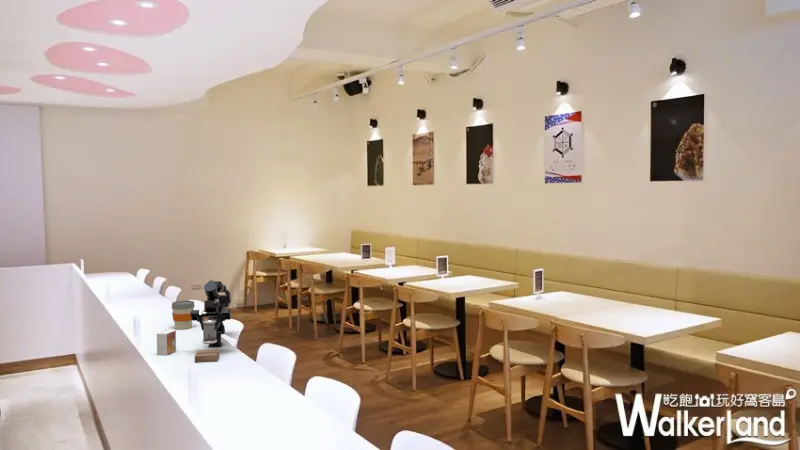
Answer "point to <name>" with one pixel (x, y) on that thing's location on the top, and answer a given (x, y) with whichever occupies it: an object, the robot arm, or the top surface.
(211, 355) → the stand
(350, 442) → the top surface
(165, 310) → the top surface
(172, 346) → the small box
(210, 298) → the robot arm
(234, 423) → the top surface
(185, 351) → the top surface
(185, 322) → the reusable coffee cup
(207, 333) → the cylinder
